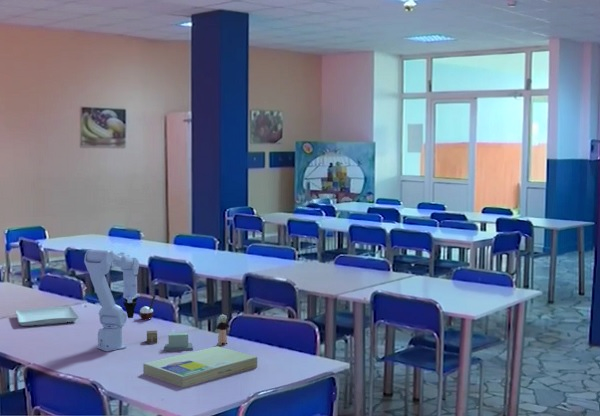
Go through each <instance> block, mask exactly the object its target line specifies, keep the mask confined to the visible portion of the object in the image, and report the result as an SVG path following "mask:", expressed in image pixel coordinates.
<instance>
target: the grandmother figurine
mask: <svg viewBox="0 0 600 416" xmlns="http://www.w3.org/2000/svg"><path fill="white" fill-rule="evenodd" d="M227 319H228V317H227V315H225V314H220V315H219V317H218V320H219V323H218V325H217V326H216V328H215V330H214V333H215V334H217V333H218V335H217V336H218V337H217V338H218V339H217V346H222V343H223V345H227V344H228V341H227V340H228V338H227V330H228V331H231V327H230V325H229V323H227ZM226 343H227V344H226Z"/></svg>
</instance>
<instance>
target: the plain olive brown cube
mask: <svg viewBox="0 0 600 416" xmlns="http://www.w3.org/2000/svg"><path fill="white" fill-rule="evenodd" d="M157 343H158V330H146V344H157Z"/></svg>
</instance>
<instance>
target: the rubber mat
mask: <svg viewBox="0 0 600 416" xmlns="http://www.w3.org/2000/svg"><path fill="white" fill-rule="evenodd" d="M164 346H165V347H164V348H165V352H178V351H193V350H194V347H193V346H194V345H193V342H188V347H169V343H165V345H164Z"/></svg>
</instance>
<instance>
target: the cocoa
mask: <svg viewBox="0 0 600 416" xmlns="http://www.w3.org/2000/svg"><path fill="white" fill-rule="evenodd" d="M155 300H156V295H153V296H152V299H151V301H150V305H149V306H145V305H144V306H143V307H141V308H140V309H139V312H138V316H139V317H140V319H141V320H143V319H149V318H151V319H152V318H153V315H154V309H153V305H154V302H155Z"/></svg>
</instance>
